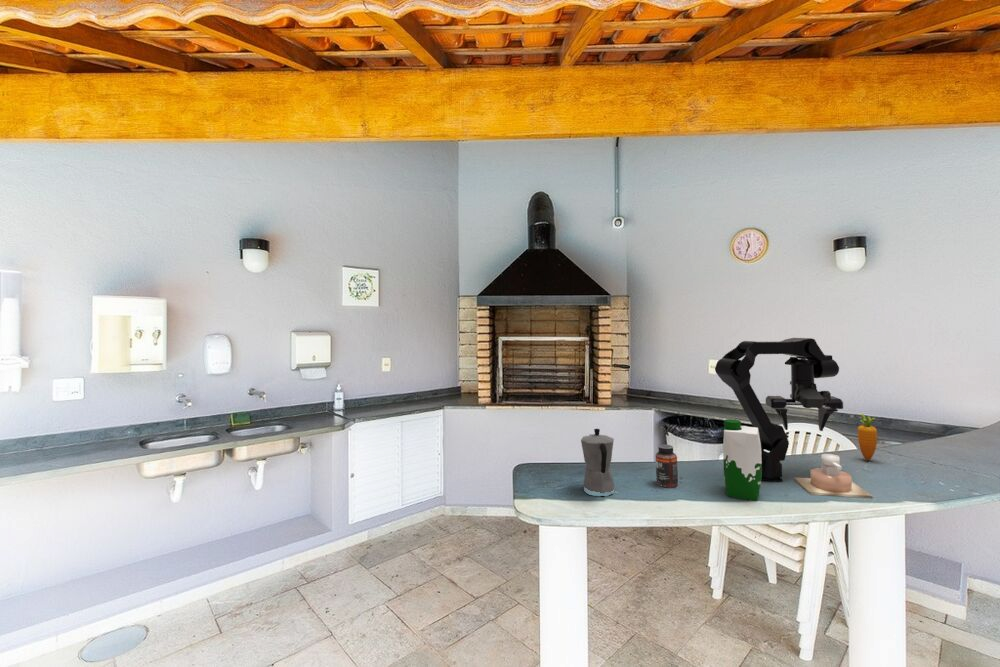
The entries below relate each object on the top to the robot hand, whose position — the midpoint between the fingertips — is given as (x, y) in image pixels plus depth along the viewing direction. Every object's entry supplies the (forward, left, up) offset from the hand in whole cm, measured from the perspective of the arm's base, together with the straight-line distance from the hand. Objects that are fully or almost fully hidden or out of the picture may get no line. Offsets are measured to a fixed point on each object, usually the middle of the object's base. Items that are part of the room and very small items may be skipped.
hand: (803, 430), depth 131 cm
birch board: (+2, -12, -13) cm, 18 cm away
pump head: (+2, -14, -9) cm, 16 cm away
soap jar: (+2, -12, -13) cm, 18 cm away
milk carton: (-22, -20, -13) cm, 33 cm away
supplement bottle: (-41, -16, -13) cm, 46 cm away
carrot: (+23, +14, -13) cm, 30 cm away
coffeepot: (-60, -25, -13) cm, 66 cm away
